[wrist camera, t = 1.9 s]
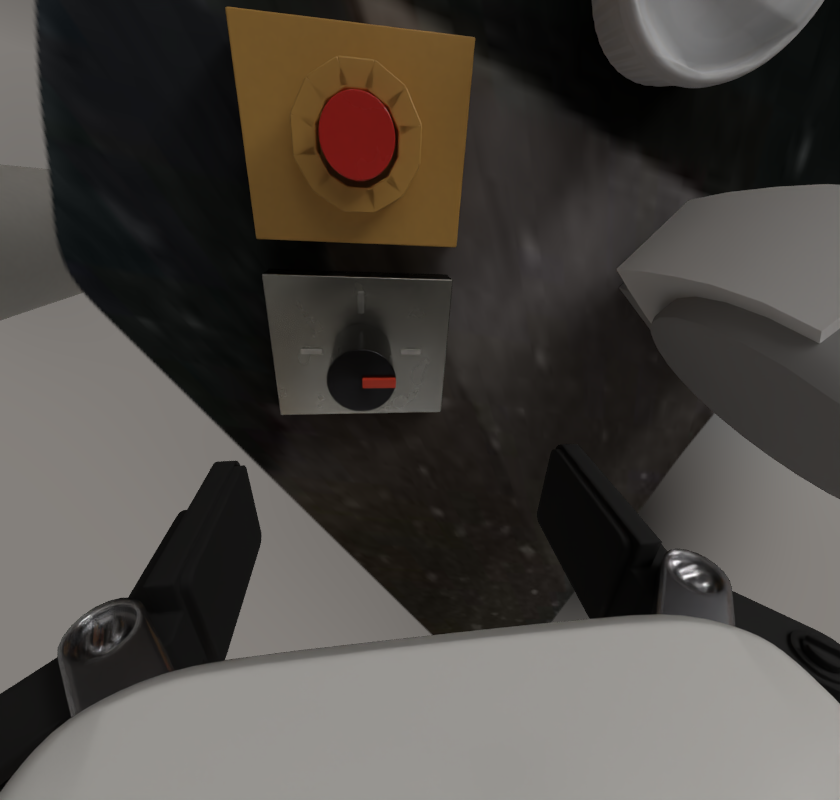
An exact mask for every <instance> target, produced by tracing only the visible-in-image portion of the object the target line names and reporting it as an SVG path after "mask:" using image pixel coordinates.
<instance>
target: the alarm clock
mask: <svg viewBox="0 0 840 800" xmlns="http://www.w3.org/2000/svg"><path fill="white" fill-rule="evenodd" d="M616 270H617V271H618V273H619V275H620V276H621V278H622V280H623V281H624V283H623V284H622V285H621V286H620V287H619V289H620V290H621V291H622V293H623V294H624V295H625V297H626V298H627V299H628V301H629V302H630V303H631V305H632V306H633V307H634V309H635V310H636V311H637V313H638V314H639V315H640V317H641V318H642V319H643V321H644V322H645V324H646V325H647V326H648V328H649V329H650V330H651V335H652V337H653V340H654V342H655V345H656V347H657V349H658V351H659V352H660V354H661V355H662V357H663V358H664V360H665V361H666V363H667V364H668V366H669V367H670V368H671V369H672V370H673V371H674V373H675V374H676V375H677V376H678V377H679V379H680V380H681V381H682V382H683V383H684V384H685V385H686V386H687V387H688V388H689V389H690V390H691V391H692V392H693V393H694V394H695V395H696V396H697V397H698V398H699V399H700V400H701V401H702V402H703V403H704V404H705V405H707V406H708V407H709V408H710V409H711V410H712V411H713V412H714V413H715V414H717V415H718V416H719V417H720V418H721V419H722V420H724V421H725V422H726V423H727V424H728V425H730V426H731V427H732V428H734V429H735V430H736V431H737V432H738V433H740V434H741V435H742V436H743V437H744V438H746V439H747V440H749V441H750V442H751V443H753V444H754V445H755V446H757V447H758V448H759V449H761V450H762V451H763V452H765V453H766V454H768V455H769V456H770V457H772V458H773V459H775V460H776V461H778V462H779V463H781V464H782V465H784V466H785V467H787V468H788V469H790V470H791V471H793V472H794V473H795V474H797V475H799V476H800V477H802V478H804V479H805V480H807V481H809V482H810V483H812V484H814V485H815V486H817V487H819V488H820V489H822V490H824V491H825V492H827V493H829V494H831V495H833V496H835V497H837V498H839V499H840V185H831V184H821V185H803V186H784V187H771V188H762V189H753V190H744V191H735V192H727V193H722V194H717V195H712V196H707V197H702V198H697V199H693V200H688V201H687V202H686V203H685V204H684V205H683V206H682V207H681V208H680V209H679V210H678V211H677V212H676V213H675V214H674V215H673V216H672V217H671V218H670V219H669V220H667V221H666V222H665V223H664V224H663V225H662V226H661V227H660V228H659V229H658V230H657V231H656V232H655V233H654V234H653V235H652V236H651V237H650V238H649V239H647V240H646V241H645V242H644V243H643V244H642V245H641V246H640V247H639V248H638V249H637V250H636V251H635V252H634V253H633V254H632V255H631V256H630V257H629V258H627V259H626V260H625V261H624V262H623V263H622V264H621V265H620V266H619V267H618V268H617V269H616Z"/></svg>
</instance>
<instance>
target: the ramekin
mask: <svg viewBox="0 0 840 800" xmlns="http://www.w3.org/2000/svg"><path fill="white" fill-rule="evenodd" d="M591 1H592V10H593V19H594V23H595V31H596V33H597V36H598V40H599V44H600V45H601V47H602V50H603V53H604V54H605V56H606V57H607V58H608V60H609V62H610V64H611V65H613V66H614V67H615V69H616V70H617V71H618V72H619V73H621V74H622V75H623V76H624V77H626V78H628V79H630V80H632V81H633V82H635V83H640V84H642V85H645V86H657V87H661V86H679V87H685V88H703V87H709V86H714V85H718V84H722V83H725V82H728V81H731V80H734V79H736V78H739V77H741V76H743V75H745V74H747V73H749V72H751V71H753V70H754V69H756V68H758V67H759V66H761V65H763V64H764V63H766V62H767V61H768V60H770V59H771V58H772V57H774V56H775V55H776V54H777V53H778V52H780V51H781V50H782V49H783V48H784V47H785V46H786V45H787V44H788V43H789V42H790V41H791V40H792V39H793V38H794V37H795V36H796V35H797V34H798V33H799V32H800V31H801V30H802V29H803V27H804V26H805V25H806V24H807V23H808V21H809V20H810V19H811V18H812V17H813V15H814V14H815V13H816V11H817V10H818V9H819V7H820V6H821V4H822V3H823V1H824V0H591Z"/></svg>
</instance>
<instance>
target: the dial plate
mask: <svg viewBox="0 0 840 800" xmlns="http://www.w3.org/2000/svg"><path fill="white" fill-rule="evenodd" d="M262 278H263V286H264V293H265V301H266V308H267V316H268V323H269V331H270V338H271V346H272V353H273V361H274V368H275V376H276V383H277V391H278V398H279V405H280V413H281V415H302V414H355V413H409V412H441V405H442V394H443V382H444V371H445V360H446V349H447V338H448V327H449V316H450V304H451V293H452V282H453V280H452V279H451V278H450V277H449V276H448V275H442V274H412V273H381V272H351V271H320V270H289V269H268V270H267V271H266V272H264V273H263V274H262ZM354 324H368V325H371V326H374V327H376V328H378V329H379V330H380V331H382V332H383V333H384V335H385V336H386V337H387V339H388V341H389V344H390V348H391V353H392V358H393V364H394V369H395V375H396V388H395V390H394V392H393V394H392V396H391V397H390V399H389V400H388V401H387V402H386V403H385V404H383V405H382V406H380V407H378V408H376V409H374V410H370V411H353V410H349V409H347V408H345V407H343V406H341V405H340V404H338V403H337V402H336V401H335V400H334V399H333V397H332V396H331V394H330V392H329V390H328V387H327V372H328V367H329V362H330V357H331V352H332V348H333V343H334V341H335V338H336V337H337V335H338V334H339V333H340V332H341V331H342V330H343V329H345V328H346V327H348V326H351V325H354Z"/></svg>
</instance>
